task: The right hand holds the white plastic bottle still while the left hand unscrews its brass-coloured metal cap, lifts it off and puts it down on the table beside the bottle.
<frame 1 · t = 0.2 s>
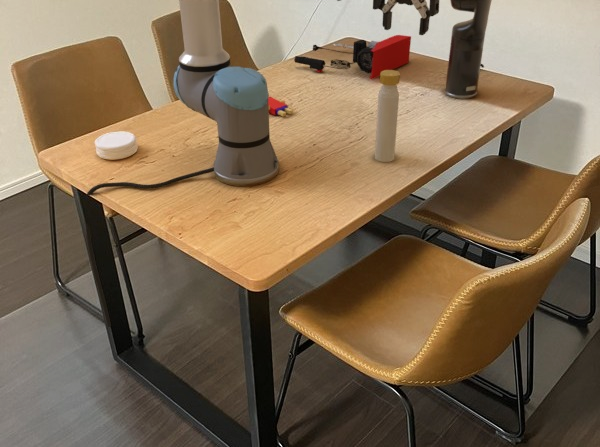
left hand: (358, 4, 166), 28 cm above the table, tool pointing down, fingers open, 13 cm apart
right hand: (404, 31, 139), 29 cm above the table, tool pointing down, fingers open, 8 cm apart
cap: (390, 74, 140), point 21 cm above the table, screwed on, not yet turned
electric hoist: (351, 64, 211), on the table
bottle: (384, 157, 151), on the table
white round container: (117, 152, 155), on the table
toy figure: (273, 110, 177), on the table
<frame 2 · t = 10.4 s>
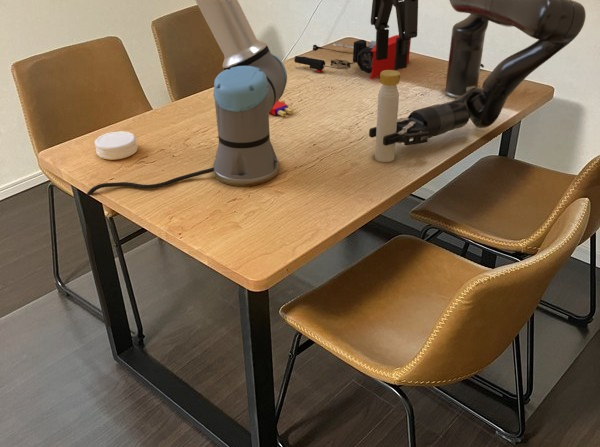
left hand: (390, 63, 138), 23 cm above the table, tool pointing down, fingers open, 7 cm apart
right hand: (377, 137, 146), 6 cm above the table, tool horizontal, fingers closed on bottle, 4 cm apart
bottle: (384, 157, 151), on the table, touching right hand
everything else where it was.
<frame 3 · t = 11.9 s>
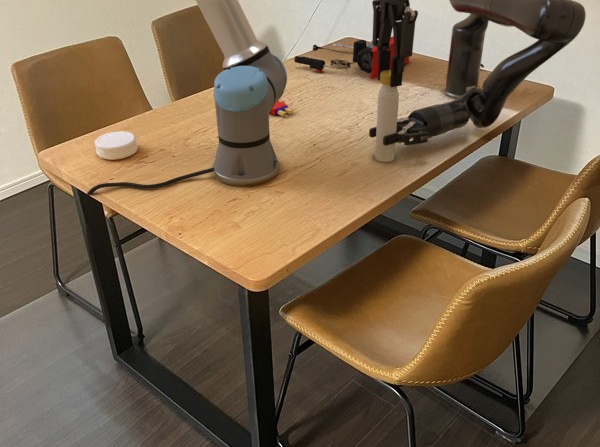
left hand: (389, 82, 141), 19 cm above the table, tool pointing down, fingers closed on cap, 4 cm apart
right hand: (377, 137, 146), 6 cm above the table, tool horizontal, fingers closed on bottle, 4 cm apart
cap: (390, 74, 140), point 21 cm above the table, screwed on, not yet turned, touching left hand
bottle: (384, 157, 151), on the table, touching right hand
everything else where it was.
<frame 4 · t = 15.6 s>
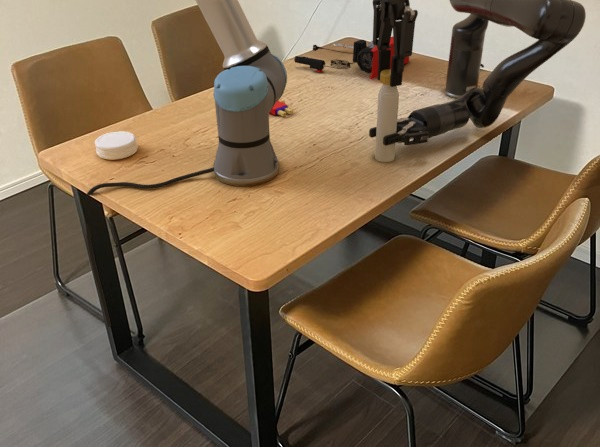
left hand: (389, 81, 141), 19 cm above the table, tool pointing down, fingers closed on cap, 4 cm apart
right hand: (377, 137, 146), 6 cm above the table, tool horizontal, fingers closed on bottle, 4 cm apart
cap: (390, 73, 140), point 21 cm above the table, turned 105° so far, risen 0.1 cm, still on its thread, touching left hand
bottle: (384, 157, 151), on the table, touching right hand
everything else where it was.
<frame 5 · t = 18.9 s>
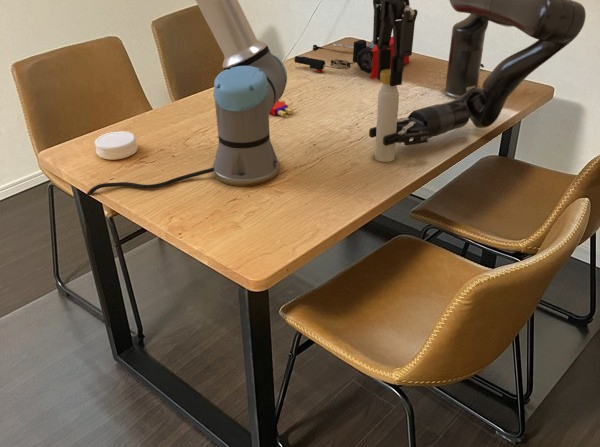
left hand: (389, 81, 141), 19 cm above the table, tool pointing down, fingers closed on cap, 4 cm apart
right hand: (377, 137, 146), 6 cm above the table, tool horizontal, fingers closed on bottle, 4 cm apart
cap: (390, 73, 140), point 21 cm above the table, turned 210° so far, risen 0.2 cm, still on its thread, touching left hand
bottle: (384, 157, 151), on the table, touching right hand
everything else where it was.
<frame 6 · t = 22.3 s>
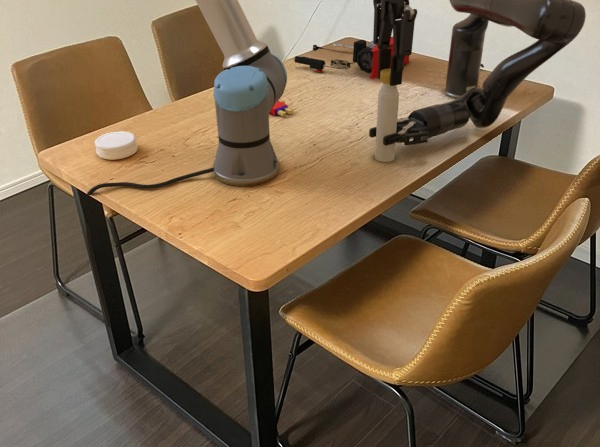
left hand: (389, 81, 140), 19 cm above the table, tool pointing down, fingers closed on cap, 4 cm apart
right hand: (377, 137, 146), 6 cm above the table, tool horizontal, fingers closed on bottle, 4 cm apart
cap: (390, 72, 139), point 21 cm above the table, turned 315° so far, risen 0.3 cm, still on its thread, touching left hand
bottle: (384, 157, 151), on the table, touching right hand
everything else where it was.
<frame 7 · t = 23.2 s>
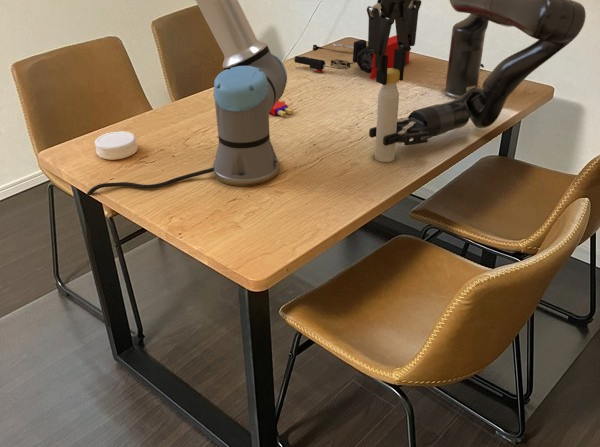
left hand: (389, 80, 140), 19 cm above the table, tool pointing down, fingers closed on cap, 4 cm apart
right hand: (377, 137, 146), 6 cm above the table, tool horizontal, fingers closed on bottle, 4 cm apart
cap: (390, 72, 139), point 21 cm above the table, off its thread, touching left hand
bottle: (384, 157, 151), on the table, touching right hand
everything else where it was.
when the left hand's fingers open (1 cm above the table, at t = 29.8 s): cap drops 1 cm, point 2 cm above the table.
when the right hand's fingers open (6 cm above the table, at t = 31.1 s): bottle stays where it is, on the table.
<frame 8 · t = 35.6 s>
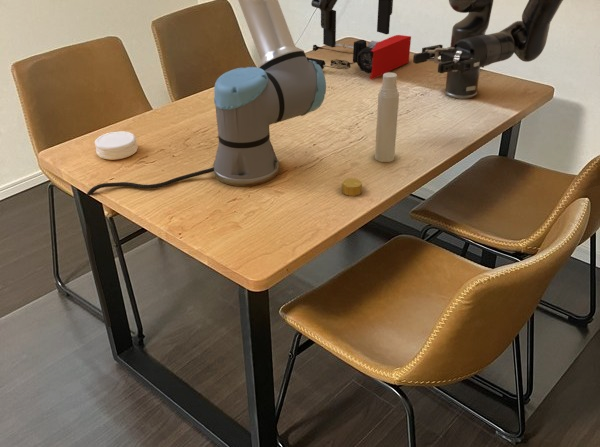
left hand: (356, 39, 119), 33 cm above the table, tool pointing down, fingers open, 13 cm apart
right hand: (426, 63, 144), 21 cm above the table, tool horizontal, fingers open, 8 cm apart
cap: (352, 183, 136), point 2 cm above the table, off its thread
bottle: (384, 157, 151), on the table
everything else where it was.
at the end: cap came off its thread; cap point 1.9 cm above the table; the left hand is holding nothing; the right hand is holding nothing; bottle tilted 0°; bottle moved 0.0 cm from its start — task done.
